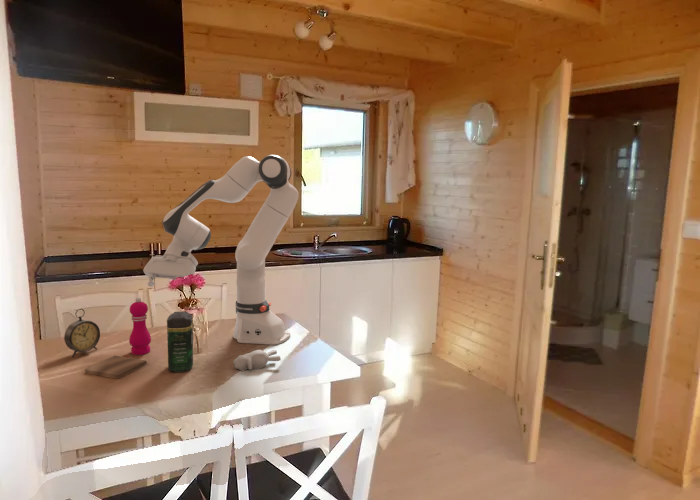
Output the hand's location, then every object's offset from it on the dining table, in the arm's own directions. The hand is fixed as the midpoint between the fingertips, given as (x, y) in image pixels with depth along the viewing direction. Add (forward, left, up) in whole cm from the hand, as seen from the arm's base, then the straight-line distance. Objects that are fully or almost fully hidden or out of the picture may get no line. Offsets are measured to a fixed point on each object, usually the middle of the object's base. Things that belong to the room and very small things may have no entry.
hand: (160, 286), depth 190 cm
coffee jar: (-22, +19, -21) cm, 36 cm away
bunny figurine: (-45, +9, -22) cm, 51 cm away
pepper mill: (0, +12, -21) cm, 25 cm away
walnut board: (-3, +27, -21) cm, 35 cm away
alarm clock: (+18, +20, -21) cm, 35 cm away
